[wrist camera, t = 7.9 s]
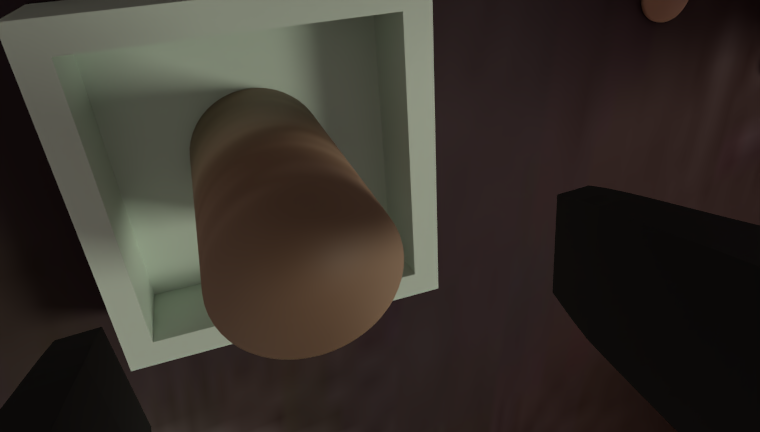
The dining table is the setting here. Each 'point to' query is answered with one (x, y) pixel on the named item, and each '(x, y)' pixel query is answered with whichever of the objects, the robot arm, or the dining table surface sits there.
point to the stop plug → (286, 230)
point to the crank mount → (662, 9)
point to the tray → (184, 109)
